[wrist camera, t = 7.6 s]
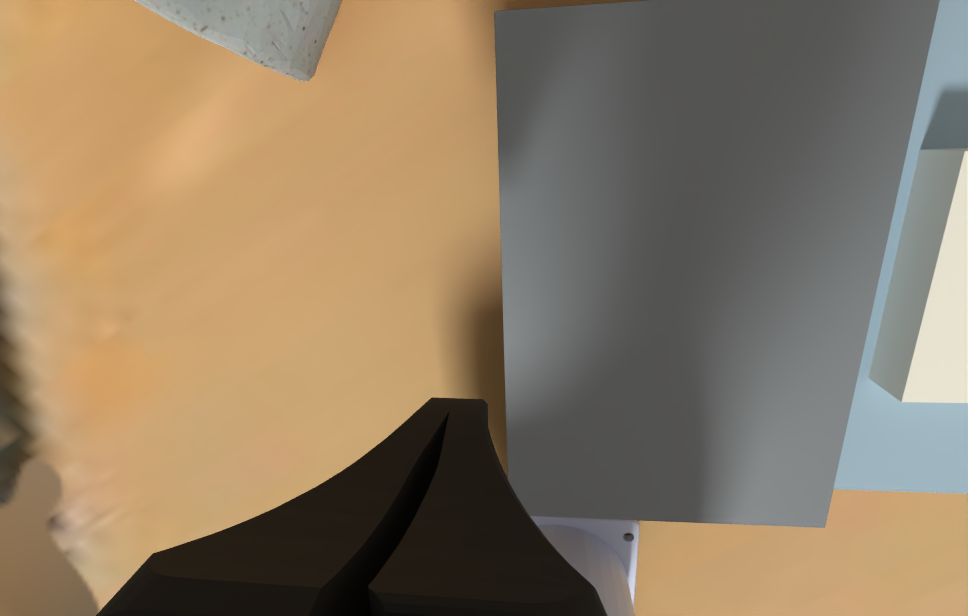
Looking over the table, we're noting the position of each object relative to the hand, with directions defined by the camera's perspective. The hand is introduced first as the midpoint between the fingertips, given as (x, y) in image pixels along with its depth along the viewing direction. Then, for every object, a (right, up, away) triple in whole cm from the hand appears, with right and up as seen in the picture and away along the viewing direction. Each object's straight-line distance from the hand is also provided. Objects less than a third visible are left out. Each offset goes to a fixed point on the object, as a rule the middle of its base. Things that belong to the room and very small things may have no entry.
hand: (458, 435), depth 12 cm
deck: (+8, +4, +9) cm, 12 cm away
